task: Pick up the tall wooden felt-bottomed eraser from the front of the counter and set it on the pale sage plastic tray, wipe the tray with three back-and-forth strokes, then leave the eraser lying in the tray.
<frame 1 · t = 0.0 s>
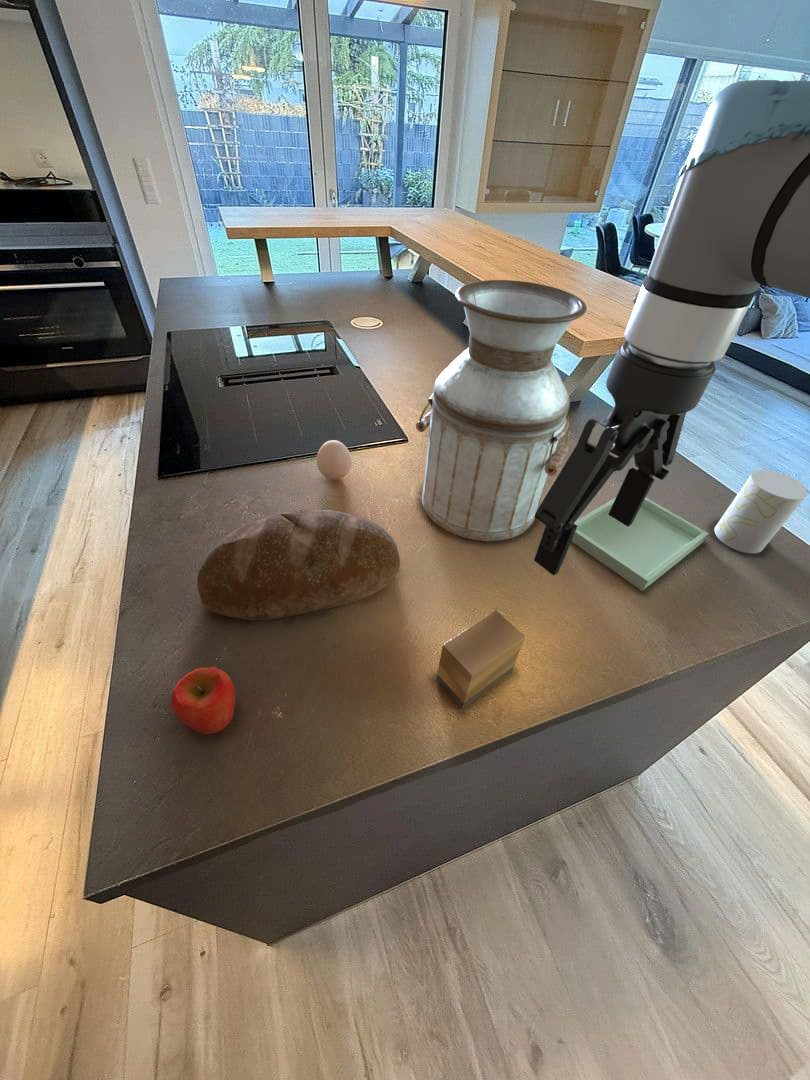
hand: (584, 541, 52), 19 cm above the kitchen island, tool pointing down, fingers open, 13 cm apart
egg: (335, 477, 91), on the kitchen island
tray: (633, 539, 82), on the kitchen island
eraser: (474, 675, 60), on the kitchen island
white cylinder: (738, 538, 84), on the kitchen island
white milk churn: (478, 504, 87), on the kitchen island
apple: (215, 719, 54), on the kitchen island
bread: (305, 582, 71), on the kitchen island
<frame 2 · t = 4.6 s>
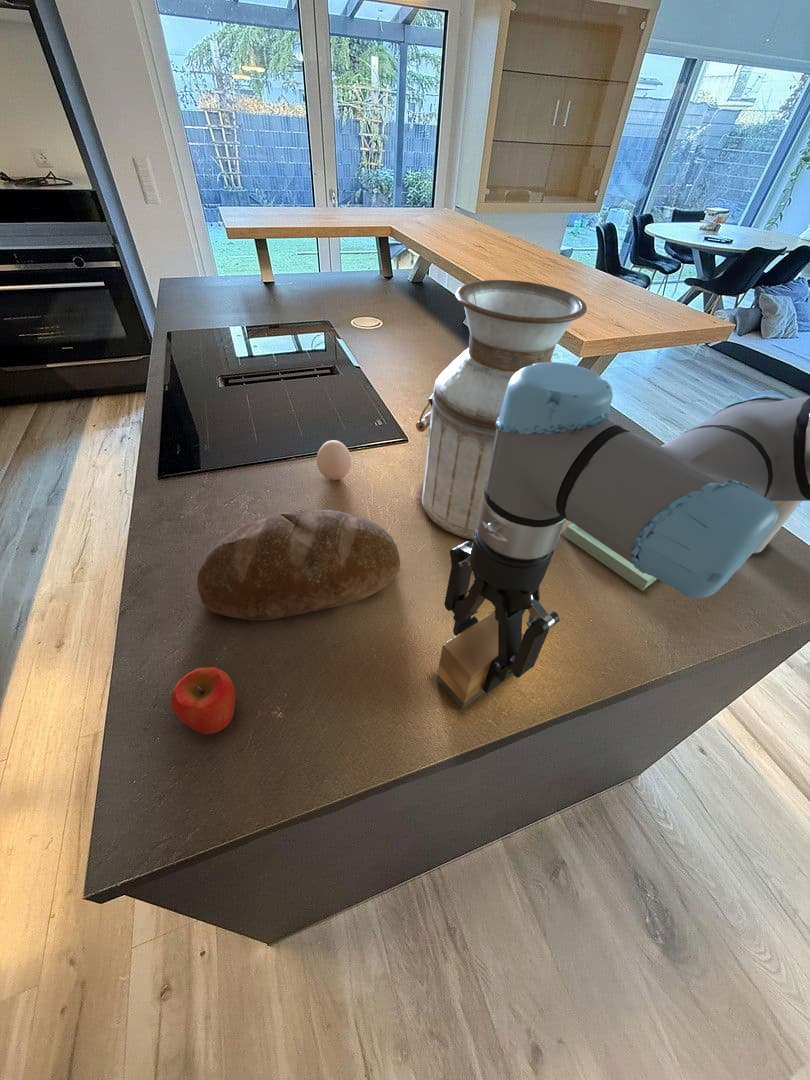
hand: (476, 668, 59), 2 cm above the kitchen island, tool pointing down, fingers closed on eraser, 5 cm apart
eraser: (474, 675, 60), on the kitchen island, touching gripper
everything else where it was.
when the fingers open (2 cm above the kitchen island, at t = 15.8 s): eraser stays where it is, resting on tray.
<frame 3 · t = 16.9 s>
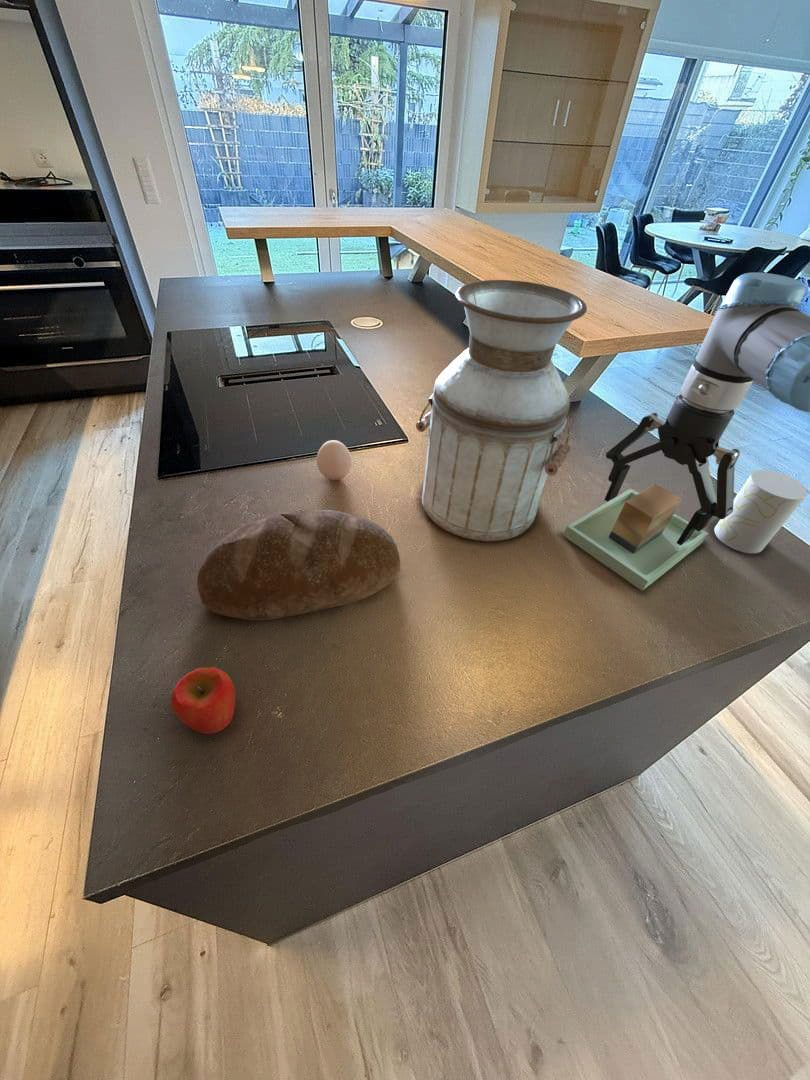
hand: (644, 518, 78), 5 cm above the kitchen island, tool pointing down, fingers open, 13 cm apart
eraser: (635, 535, 81), point 1 cm above the kitchen island, touching tray
everything else where it was.
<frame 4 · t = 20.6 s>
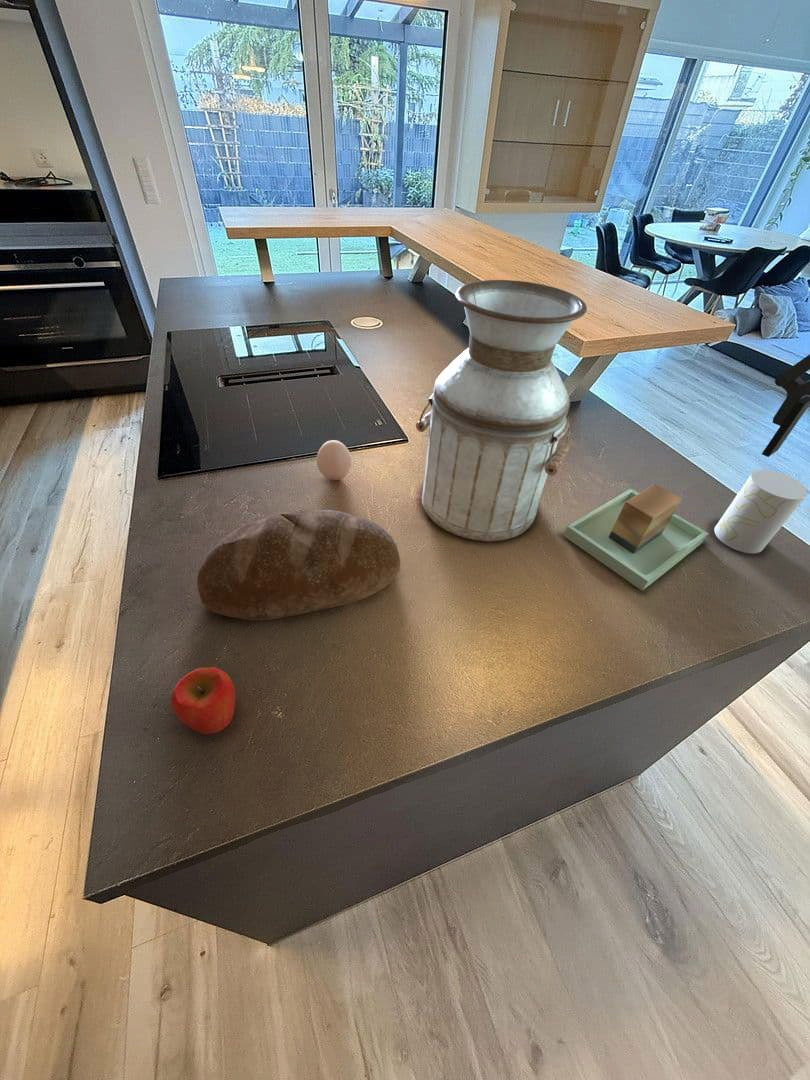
nothing on the kitchen island moved.
at the end: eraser inside the target area in the tray (0.2 cm from its centre), point 0.8 cm above the tray's base; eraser tilted 0°; the gripper is holding nothing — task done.
